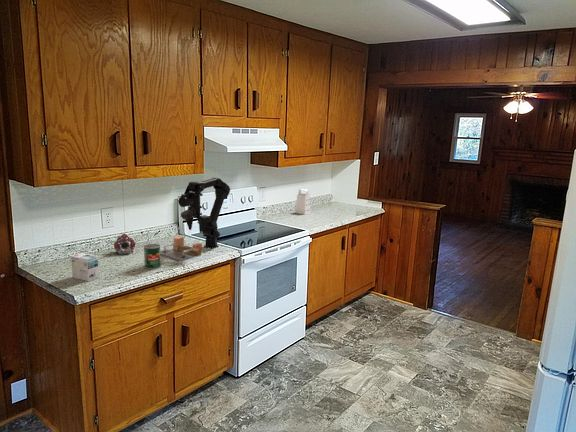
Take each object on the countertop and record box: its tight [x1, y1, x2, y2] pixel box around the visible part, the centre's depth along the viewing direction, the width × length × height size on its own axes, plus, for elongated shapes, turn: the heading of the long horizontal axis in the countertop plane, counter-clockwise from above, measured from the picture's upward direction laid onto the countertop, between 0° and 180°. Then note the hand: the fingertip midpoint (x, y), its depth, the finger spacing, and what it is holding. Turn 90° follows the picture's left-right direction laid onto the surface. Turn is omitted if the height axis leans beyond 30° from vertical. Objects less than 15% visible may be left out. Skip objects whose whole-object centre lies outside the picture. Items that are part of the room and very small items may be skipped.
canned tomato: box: [143, 243, 162, 270], centre depth 223 cm, size 8×8×11 cm
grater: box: [294, 188, 312, 215], centre depth 373 cm, size 10×10×20 cm
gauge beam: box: [172, 242, 203, 257], centre depth 247 cm, size 13×20×6 cm, turn 55°
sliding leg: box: [163, 236, 185, 251], centre depth 250 cm, size 13×3×7 cm, turn 145°
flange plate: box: [160, 248, 192, 262], centre depth 242 cm, size 8×20×1 cm, turn 55°
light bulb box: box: [70, 252, 101, 282], centre depth 204 cm, size 11×7×11 cm, turn 67°
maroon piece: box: [113, 233, 136, 256], centre depth 245 cm, size 11×11×12 cm
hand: (195, 231), depth 248 cm, fingers open, 9 cm apart
